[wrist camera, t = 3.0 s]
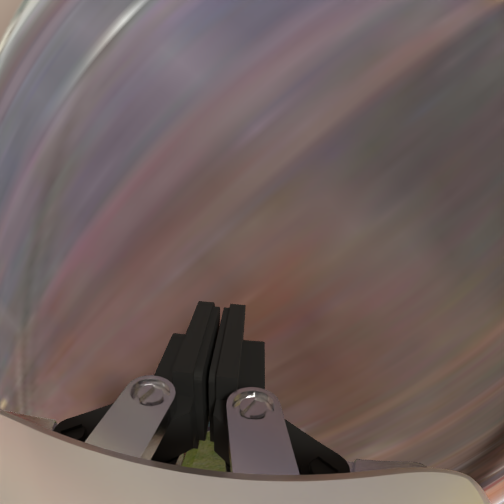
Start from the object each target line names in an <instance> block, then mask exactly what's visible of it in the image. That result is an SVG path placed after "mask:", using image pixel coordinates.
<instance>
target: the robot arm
mask: <svg viewBox="0 0 504 504" xmlns="http://www.w3.org/2000/svg"><path fill="white" fill-rule="evenodd" d="M244 321H245V305H236V304H230V308H225V307H224V310H223V315H222V319H221V323H220V307H215V304H214V303H213V302H202V301H199V302H198V305H197V307H196V310H195V312H194V315H193V317H192V320H191V322H190V325H189V327H188V330H187V333H186V335H185V334H177V333H174V334H173V335H172V337H171V339H170V341H169V344H168V346H167V348H166V350H165V352H164V355H163V357H162V359H161V361H160V364H159V366H158V368H157V370H156V373H155V375H151V376H142V377H138V378H136V379H134V380H133V381H131V382H130V383H129V384H128V385H127V387H126V388H125V389H124V390H123V392H122V393H121V394H120V396H119V397H118V398H117V400H116V401H115V402H114V403H113V404H111V405H108V406H105V407H102V408H99V409H96V410H93V411H90V412H87V413H84V414H81V415H78V416H75V417H72V418H69V419H66V420H64V421H62V422H60V423H59V424H58V423H56V421H55V420H53V419H47V418H41V417H35V416H30V415H25V414H20V413H15V412H11V411H3V410H1V409H0V504H491V502H490V500H489V499H488V497H487V495H486V494H485V492H484V491H483V489H482V488H481V487H480V485H479V484H478V483H477V482H476V481H475V480H474V479H472V478H471V477H470V476H468V475H466V474H464V473H461V472H458V471H454V470H449V469H440V468H431V467H427V466H425V465H423V464H421V463H417V462H393V461H374V460H361V459H356V460H355V461H354V462H347V461H346V460H345V459H344V458H342V457H341V456H340V455H339V454H337V453H335V452H334V451H332V450H331V449H329V448H327V447H326V446H324V445H323V444H321V443H320V442H318V441H316V440H315V439H313V438H312V437H310V436H309V435H307V434H306V433H304V432H303V431H301V430H300V429H298V428H297V427H295V426H294V425H293V424H291V423H290V422H288V421H287V420H285V419H284V416H283V412H282V409H281V405H280V402H279V400H278V398H277V397H276V396H275V395H274V394H273V393H271V392H269V391H267V390H265V350H264V342H260V341H246V340H243V335H244ZM219 327H220V328H219ZM208 424H210V442H214V451H215V452H216V453H217V454H218V455H219V456H220V457H221V458H222V459H223V460H224V461H225V472H222V471H213V470H205V469H197V468H190V467H184V466H181V464H182V462H183V458H184V453H185V452H187V451H189V450H191V449H193V448H194V449H198V445H199V440H201V441H205V440H206V435H207V430H208Z"/></svg>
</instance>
